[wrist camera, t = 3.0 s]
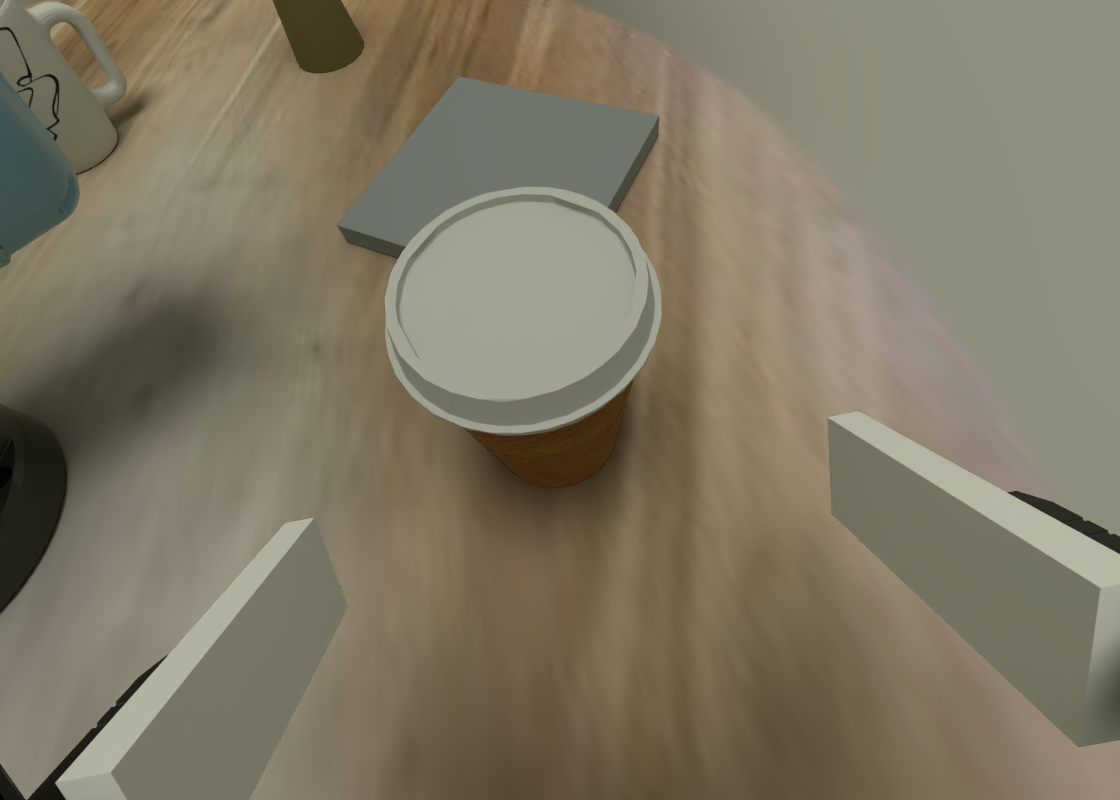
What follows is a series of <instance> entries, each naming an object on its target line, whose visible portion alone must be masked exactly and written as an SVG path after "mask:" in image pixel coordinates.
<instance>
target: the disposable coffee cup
mask: <svg viewBox="0 0 1120 800" xmlns="http://www.w3.org/2000/svg"><path fill="white" fill-rule="evenodd" d="M385 312H386V327H385V337H386V344H387V351H388V356H389V358H390V361H391V363H392V366H393V369H394V371H395V374H396V376H397V377H398V379H399V380H400V381H401V383H402V384H403V385H404V387H405V388H406V389H407V391H408V392H409V393H410V395H411V396H412V397H413V398H414V399H415V400H416V401H418V402H419V403H420V404H421V405H422V406H424V407H425V408H426V409H428V410H429V411H430V412H432V413H433V414H434V415H436V416H437V417H439V418H441V419H444V420H446V421H448V422H451V423H453V424H455V425H458V426H460V427H462V428H464V429H465V430H466V431H467V432H469V433H470V434H471V435H472V436H473V437H474V438H475V439H476V440H478V441H479V442H480V443H481V444H482V445H483V446H484V447H485V448H487V449H488V450H489V451H490V452H491V453H492V454H493V455H494V456H496V457H497V458H498V459H499V460H500V461H501V462H502V463H503V464H505V465H506V466H507V467H508V468H509V469H510V470H511V471H513V472H514V473H515V474H516V475H517V476H518V477H520V478H522V479H524V480H525V481H528V482H530V483H532V484H535V485H539V486H542V487H555V488H556V487H562V486H569V485H573V484H576V483H579V482H581V481H583V480H584V479H586V478H588V477H590V476H591V475H593V474H594V473H595V472H596V471H597V470H599V469H600V468H601V466H602V465H603V464H604V463H605V461H606V460H607V459H608V457H609V455H610V453H611V451H612V449H613V446H614V443H615V439H616V435H617V432H618V429H619V425H620V422H621V418H622V415H623V412H624V409H625V406H626V401H627V398H628V395H629V392H630V388H631V385H632V382H633V379H634V377H635V376H636V375H637V373H638V372H639V371H640V370H641V368H642V367H643V366H644V365H645V363H646V361H647V359H648V357H649V354H650V352H651V350H652V348H653V346H654V344H655V342H656V338H657V334H658V330H659V326H660V322H661V317H662V314H661V290H660V286H659V283H658V279H657V276H656V272H655V269H654V268H653V266H652V264H651V262H650V260H649V259H648V257H647V255H646V253H645V252H644V251H643V250H642V248H641V246H640V243H639V241H638V239H637V237H636V236H635V234H634V233H633V231H632V230H631V229H630V227H629V226H628V225H627V224H626V223H625V222H624V221H623V220H622V219H621V218H620V217H619V216H618V215H617V214H616V213H615V212H613V211H612V210H610V209H608V208H607V207H605V206H604V205H602V204H601V203H599V202H598V201H595V200H593V199H591V198H588V197H586V196H584V195H581V194H577V193H574V192H571V191H567V190H563V189H556V188H549V187H519V188H513V189H507V190H502V191H496V192H490V193H485V194H482V195H480V196H477V197H474V198H471V199H469V200H466V201H464V202H462V203H460V204H458V205H456V206H454V207H452V208H450V209H448V210H446V211H445V212H444V213H442V214H441V215H439V216H438V217H437V218H435V219H434V220H433V221H431V222H430V223H429V224H427V225H426V226H425V227H424V228H423V229H422V230H421V231H420V232H419V233H418V234H417V235H416V236H415V237H414V238H413V239H412V240H411V241H410V242H409V244H408V245H407V246H406V248H405V249H404V250H403V252H402V253H401V255H400V257H399V258H398V260H397V262H396V264H395V266H394V268H393V270H392V271H391V275H390V279H389V283H388V286H387V290H386V294H385Z"/></svg>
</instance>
